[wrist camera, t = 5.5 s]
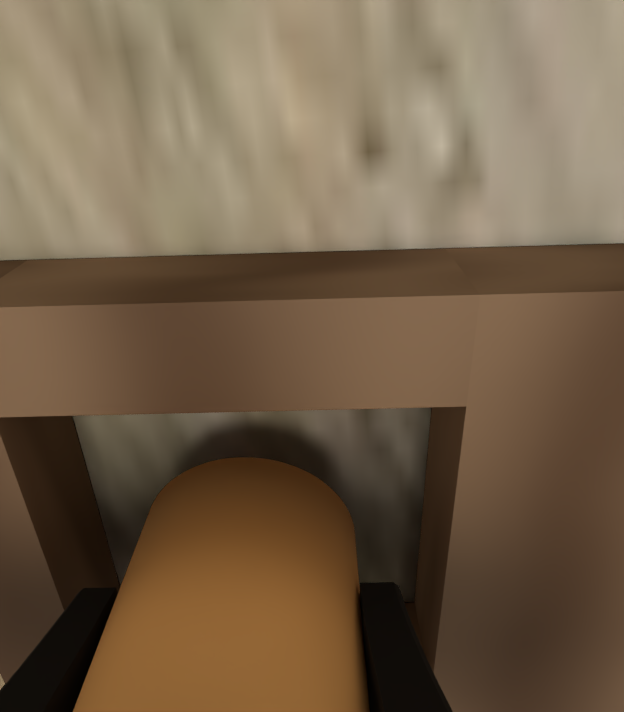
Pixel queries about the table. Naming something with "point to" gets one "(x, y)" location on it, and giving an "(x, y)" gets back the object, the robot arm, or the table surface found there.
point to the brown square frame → (353, 391)
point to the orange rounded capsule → (236, 600)
